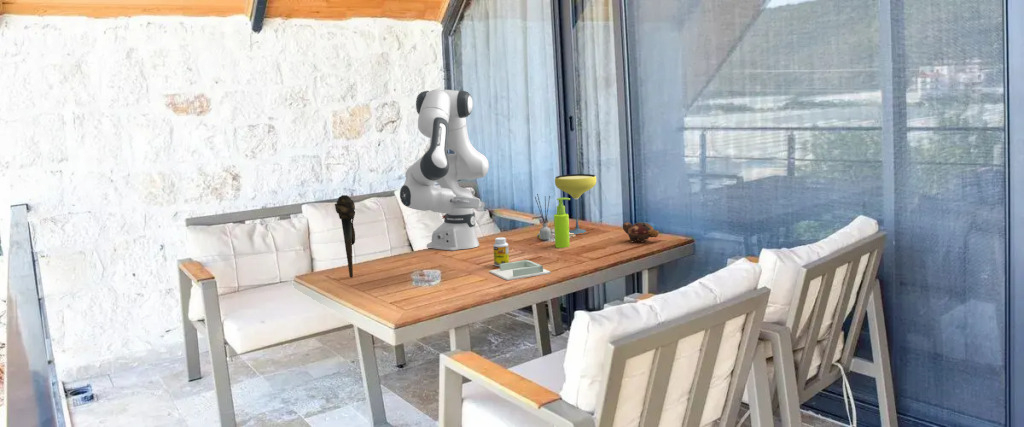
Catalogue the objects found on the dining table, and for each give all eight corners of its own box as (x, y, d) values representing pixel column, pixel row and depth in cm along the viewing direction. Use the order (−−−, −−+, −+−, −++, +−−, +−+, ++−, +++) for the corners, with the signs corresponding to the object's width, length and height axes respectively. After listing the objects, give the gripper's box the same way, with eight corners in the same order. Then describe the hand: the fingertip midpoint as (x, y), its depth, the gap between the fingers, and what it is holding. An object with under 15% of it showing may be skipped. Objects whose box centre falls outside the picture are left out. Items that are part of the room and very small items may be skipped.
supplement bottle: (491, 266, 298) (490, 239, 296) (498, 263, 302) (497, 236, 301) (504, 267, 295) (503, 240, 293) (511, 264, 300) (510, 237, 298)
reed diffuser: (556, 240, 340) (554, 193, 337) (543, 242, 336) (541, 195, 333) (541, 237, 348) (539, 191, 345) (529, 239, 344) (527, 193, 341)
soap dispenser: (571, 247, 323) (569, 198, 320) (554, 248, 325) (552, 199, 322) (573, 244, 329) (571, 196, 326) (556, 245, 331) (554, 197, 327)
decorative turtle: (626, 238, 337) (626, 219, 336) (661, 239, 331) (661, 220, 329) (619, 243, 329) (618, 223, 327) (655, 244, 322) (655, 225, 321)
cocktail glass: (577, 227, 368) (575, 173, 364) (606, 231, 354) (604, 175, 350) (548, 233, 356) (546, 177, 352) (577, 238, 343) (575, 180, 339)
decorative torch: (352, 280, 287) (345, 197, 282) (337, 278, 290) (330, 196, 285) (364, 275, 293) (358, 194, 288) (349, 274, 296) (343, 193, 291)
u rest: (507, 280, 275) (506, 272, 275) (489, 272, 288) (488, 264, 288) (550, 273, 282) (550, 265, 282) (531, 265, 296) (531, 258, 295)
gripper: (460, 191, 276) (493, 196, 284) (430, 192, 292) (462, 196, 300) (458, 209, 275) (491, 214, 283) (428, 209, 292) (460, 213, 300)
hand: (476, 205), depth 292 cm, fingers open, 8 cm apart
